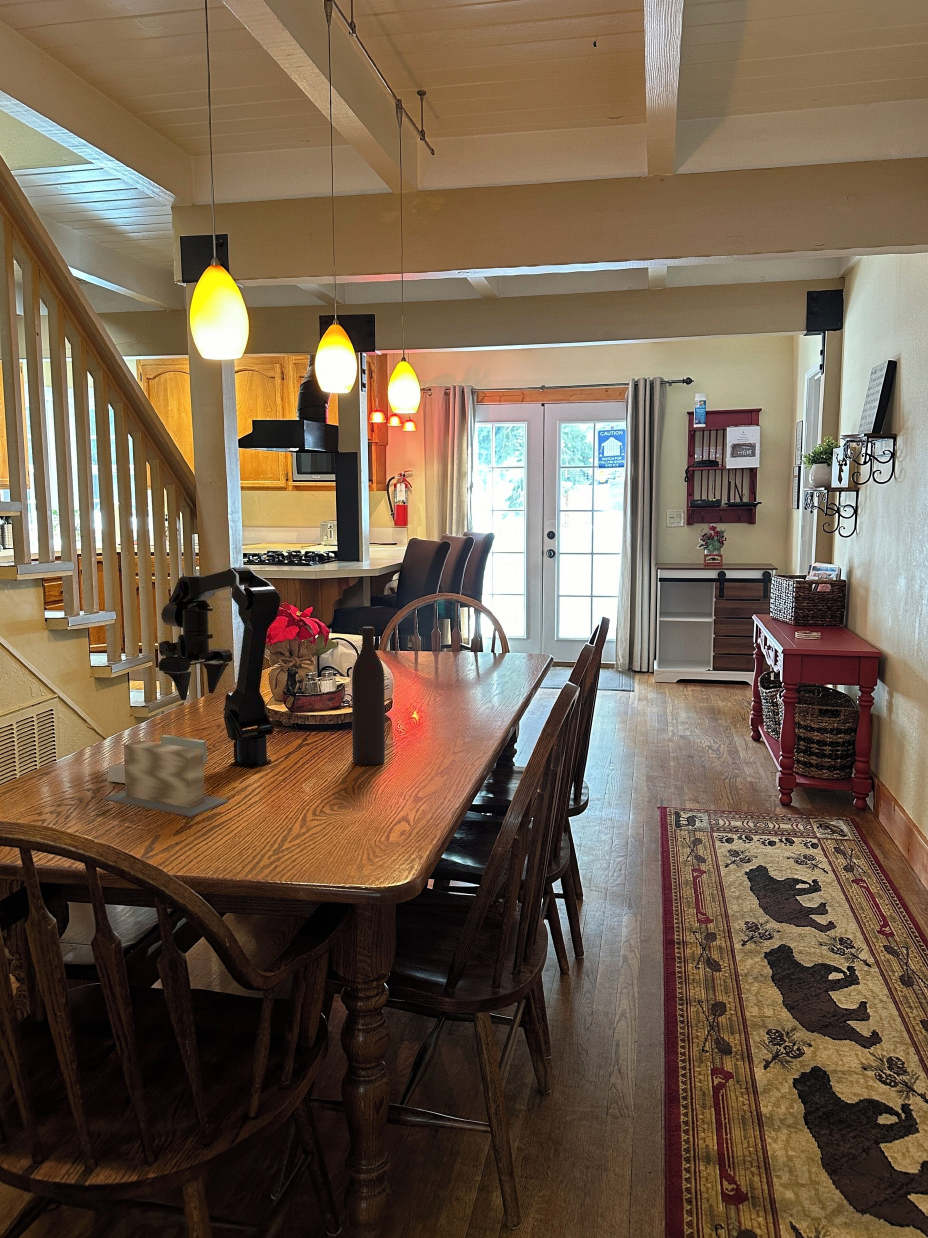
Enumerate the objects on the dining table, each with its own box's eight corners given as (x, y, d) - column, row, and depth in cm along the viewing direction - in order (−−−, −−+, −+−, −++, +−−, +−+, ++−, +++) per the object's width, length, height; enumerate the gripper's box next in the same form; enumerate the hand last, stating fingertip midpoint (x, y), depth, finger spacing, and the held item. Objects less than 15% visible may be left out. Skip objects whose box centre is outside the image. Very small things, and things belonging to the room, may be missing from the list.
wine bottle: (389, 759, 206) (388, 626, 203) (378, 767, 200) (377, 629, 196) (359, 757, 208) (358, 624, 205) (347, 765, 201) (346, 628, 198)
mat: (228, 801, 176) (228, 799, 175) (191, 817, 167) (191, 815, 167) (141, 786, 185) (141, 784, 185) (102, 800, 176) (102, 798, 176)
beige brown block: (204, 801, 174) (203, 749, 173) (189, 807, 171) (188, 754, 169) (141, 790, 181) (139, 740, 180) (125, 795, 178) (123, 744, 176)
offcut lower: (169, 785, 186) (170, 770, 186) (155, 787, 182) (157, 772, 183) (121, 778, 190) (122, 764, 191) (107, 780, 187) (108, 766, 187)
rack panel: (207, 763, 202) (206, 740, 202) (203, 764, 201) (202, 742, 201) (165, 756, 207) (164, 734, 207) (161, 757, 206) (160, 736, 206)
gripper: (196, 623, 224) (198, 687, 226) (139, 632, 208) (141, 700, 209) (233, 626, 220) (234, 691, 221) (177, 635, 203) (179, 705, 205)
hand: (197, 696), depth 214 cm, fingers open, 9 cm apart
